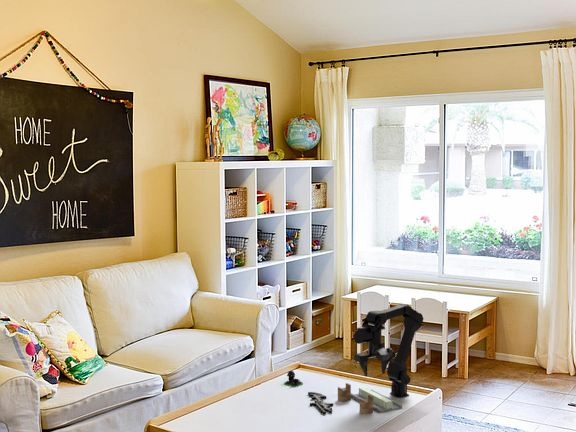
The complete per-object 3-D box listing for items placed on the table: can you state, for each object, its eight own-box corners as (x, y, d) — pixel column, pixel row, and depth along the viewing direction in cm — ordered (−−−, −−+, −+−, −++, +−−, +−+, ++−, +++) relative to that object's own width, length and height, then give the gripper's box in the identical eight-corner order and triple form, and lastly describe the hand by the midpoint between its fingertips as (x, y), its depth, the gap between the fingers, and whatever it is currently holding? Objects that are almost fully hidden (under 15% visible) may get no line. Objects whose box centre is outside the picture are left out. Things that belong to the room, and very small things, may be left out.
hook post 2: (369, 410, 310) (369, 394, 310) (373, 412, 308) (373, 396, 307) (359, 412, 308) (359, 396, 308) (363, 414, 305) (363, 398, 305)
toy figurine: (288, 388, 341) (288, 376, 341) (279, 382, 350) (279, 370, 350) (307, 385, 346) (307, 373, 345) (298, 379, 355) (298, 368, 354)
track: (371, 392, 334) (371, 389, 334) (402, 408, 313) (402, 404, 313) (349, 396, 329) (349, 393, 328) (379, 412, 307) (379, 409, 307)
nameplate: (300, 392, 331) (320, 390, 334) (300, 395, 331) (320, 394, 334) (318, 412, 305) (340, 410, 307) (318, 416, 305) (340, 414, 307)
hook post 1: (347, 398, 326) (347, 383, 326) (350, 400, 324) (350, 384, 323) (337, 399, 324) (337, 384, 324) (341, 401, 321) (341, 386, 321)
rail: (358, 394, 330) (358, 387, 330) (364, 393, 331) (364, 386, 331) (386, 409, 310) (386, 402, 310) (392, 407, 312) (392, 401, 311)
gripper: (367, 346, 307) (367, 382, 308) (403, 341, 316) (402, 376, 317) (353, 341, 317) (353, 375, 318) (388, 336, 326) (387, 370, 327)
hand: (374, 374), depth 320 cm, fingers open, 9 cm apart
